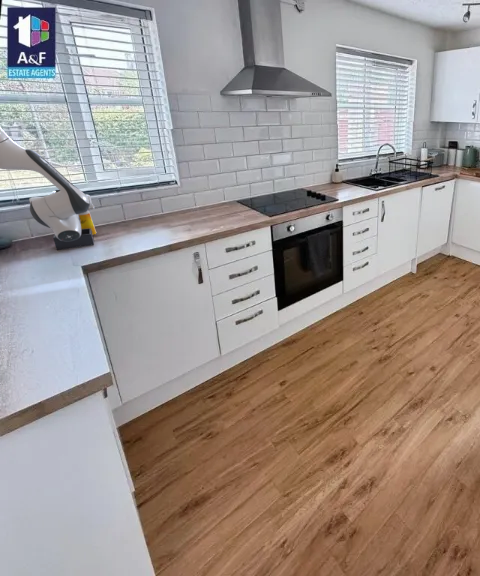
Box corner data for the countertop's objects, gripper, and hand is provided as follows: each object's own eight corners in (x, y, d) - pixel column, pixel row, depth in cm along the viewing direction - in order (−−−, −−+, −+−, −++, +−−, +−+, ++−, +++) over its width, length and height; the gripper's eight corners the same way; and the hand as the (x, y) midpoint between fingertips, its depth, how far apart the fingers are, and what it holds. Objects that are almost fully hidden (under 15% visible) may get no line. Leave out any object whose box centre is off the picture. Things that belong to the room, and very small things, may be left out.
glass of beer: (80, 236, 186) (69, 207, 179) (94, 233, 190) (84, 204, 183) (85, 239, 183) (74, 209, 176) (99, 235, 187) (89, 206, 180)
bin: (57, 252, 162) (53, 237, 159) (59, 244, 171) (55, 231, 169) (94, 248, 169) (91, 234, 167) (94, 241, 179) (90, 228, 176)
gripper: (93, 203, 158) (88, 184, 164) (29, 208, 146) (26, 187, 152) (96, 215, 162) (91, 196, 168) (34, 220, 150) (31, 200, 156)
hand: (60, 192), depth 160 cm, fingers closed on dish, 2 cm apart
